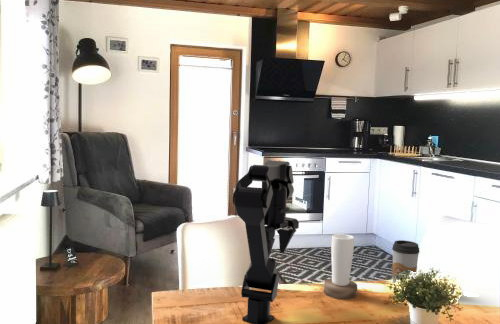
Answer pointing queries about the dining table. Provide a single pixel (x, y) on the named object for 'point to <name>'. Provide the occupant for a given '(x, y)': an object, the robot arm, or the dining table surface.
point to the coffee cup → (404, 257)
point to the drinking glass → (341, 258)
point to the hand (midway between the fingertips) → (274, 256)
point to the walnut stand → (340, 290)
